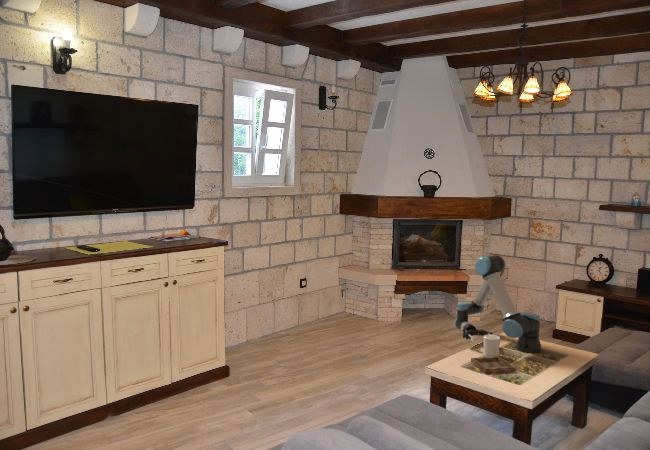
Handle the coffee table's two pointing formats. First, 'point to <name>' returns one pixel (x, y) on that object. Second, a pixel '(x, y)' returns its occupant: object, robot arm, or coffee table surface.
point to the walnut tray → (492, 364)
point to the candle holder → (491, 345)
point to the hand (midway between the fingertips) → (483, 339)
